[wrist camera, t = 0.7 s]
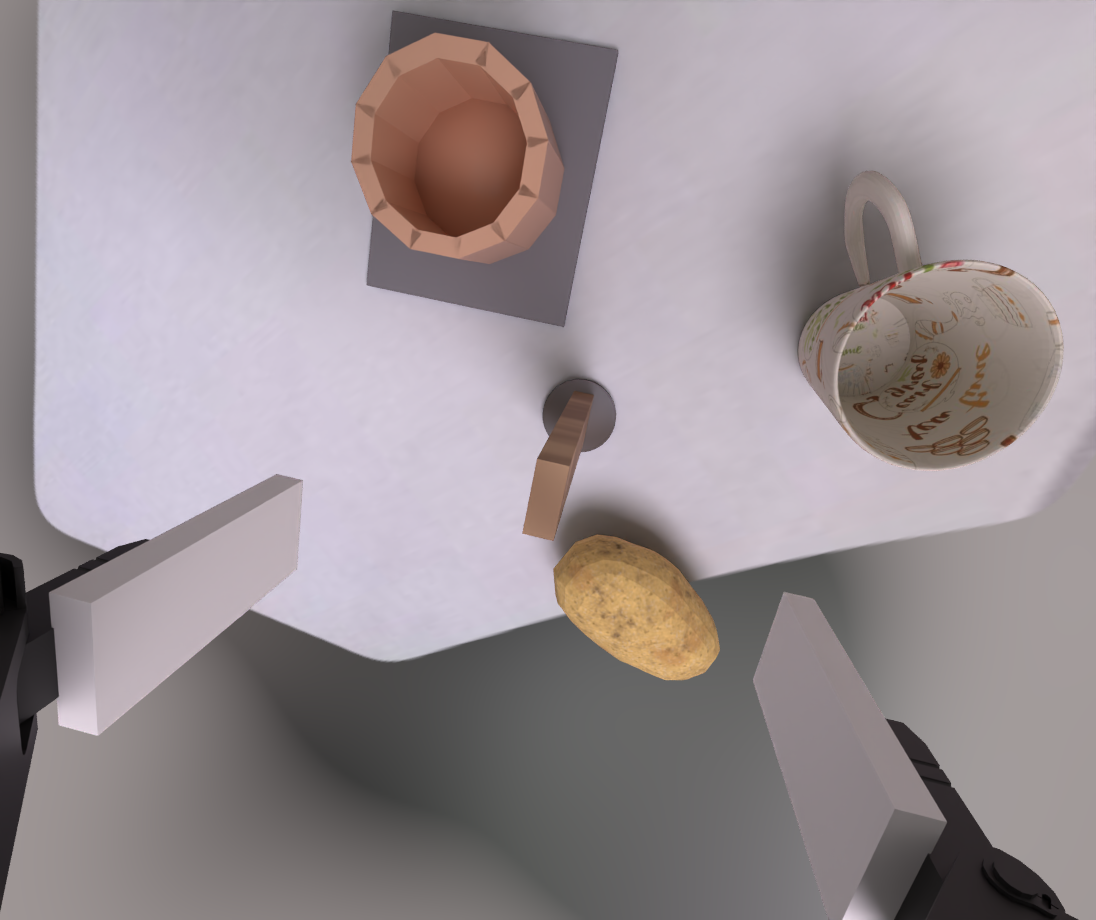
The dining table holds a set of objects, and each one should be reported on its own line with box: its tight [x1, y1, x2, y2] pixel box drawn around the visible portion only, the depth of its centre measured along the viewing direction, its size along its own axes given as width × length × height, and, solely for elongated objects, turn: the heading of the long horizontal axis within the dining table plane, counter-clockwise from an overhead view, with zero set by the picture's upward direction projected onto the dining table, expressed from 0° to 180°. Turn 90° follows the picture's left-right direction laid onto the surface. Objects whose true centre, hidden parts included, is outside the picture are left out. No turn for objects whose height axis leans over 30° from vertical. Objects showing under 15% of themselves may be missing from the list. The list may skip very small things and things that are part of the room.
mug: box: [798, 171, 1064, 471], centre depth 27 cm, size 8×13×10 cm, turn 20°
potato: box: [553, 534, 720, 680], centre depth 35 cm, size 7×11×6 cm, turn 48°
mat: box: [367, 11, 618, 327], centre depth 33 cm, size 14×12×1 cm
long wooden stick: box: [522, 379, 616, 541], centre depth 29 cm, size 4×4×15 cm
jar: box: [351, 33, 564, 264], centre depth 29 cm, size 9×9×6 cm
